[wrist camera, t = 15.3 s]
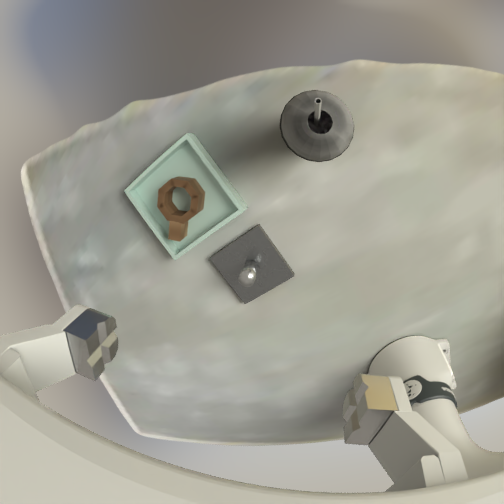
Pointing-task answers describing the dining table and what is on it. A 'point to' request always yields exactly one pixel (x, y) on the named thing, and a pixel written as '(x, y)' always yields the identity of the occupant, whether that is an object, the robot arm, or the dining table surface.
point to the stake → (252, 265)
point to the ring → (171, 212)
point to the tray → (186, 194)
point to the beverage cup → (316, 125)
